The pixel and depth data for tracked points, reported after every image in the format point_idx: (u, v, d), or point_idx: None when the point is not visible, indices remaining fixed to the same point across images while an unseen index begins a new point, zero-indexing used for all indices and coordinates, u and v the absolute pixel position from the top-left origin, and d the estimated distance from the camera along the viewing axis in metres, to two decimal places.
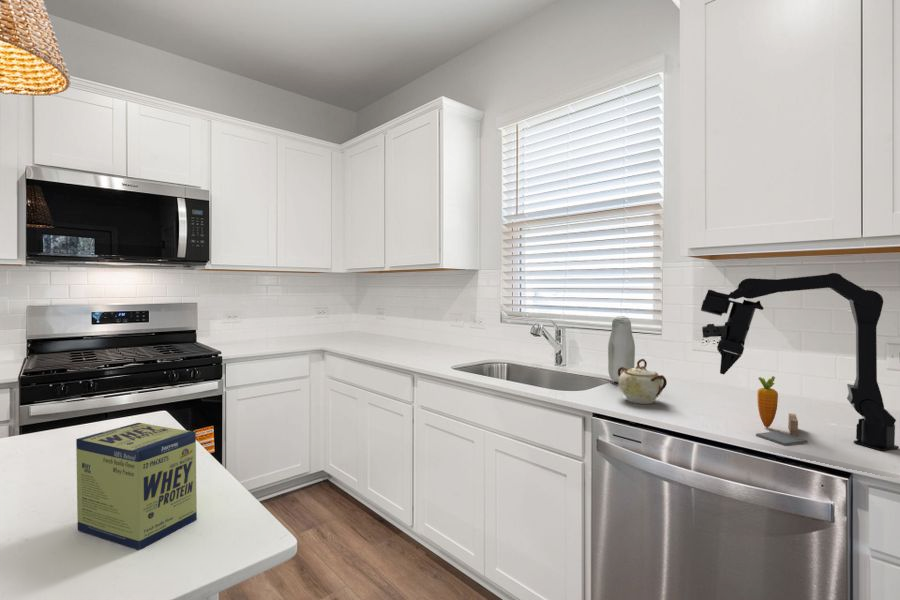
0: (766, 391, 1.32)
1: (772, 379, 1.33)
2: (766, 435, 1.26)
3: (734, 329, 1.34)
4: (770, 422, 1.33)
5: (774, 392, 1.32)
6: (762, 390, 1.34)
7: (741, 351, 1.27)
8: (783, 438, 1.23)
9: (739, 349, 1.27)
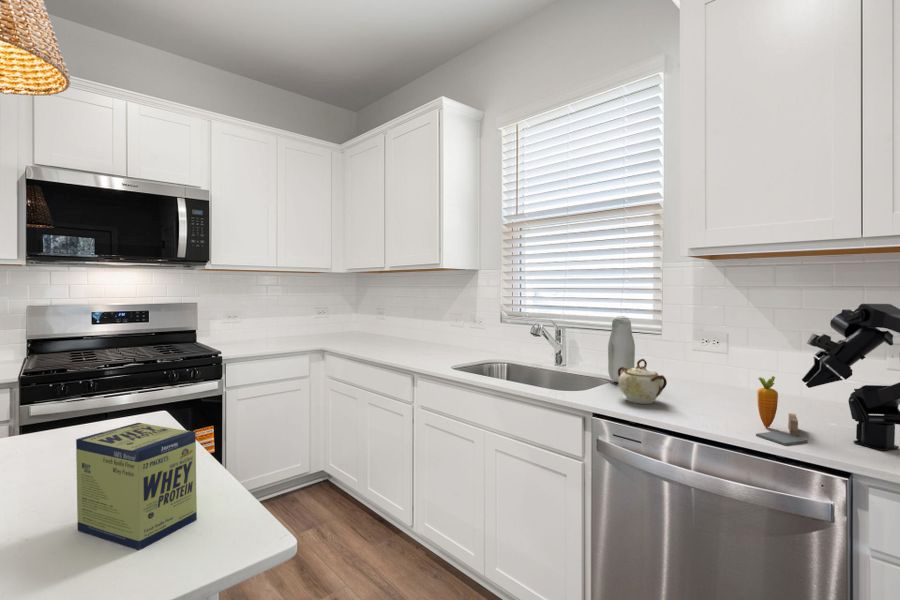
0: (766, 391, 1.33)
1: (772, 379, 1.33)
2: (766, 435, 1.26)
3: (848, 351, 1.22)
4: (770, 422, 1.33)
5: (774, 392, 1.32)
6: (762, 390, 1.34)
7: (847, 376, 1.18)
8: (783, 438, 1.23)
9: (847, 373, 1.17)
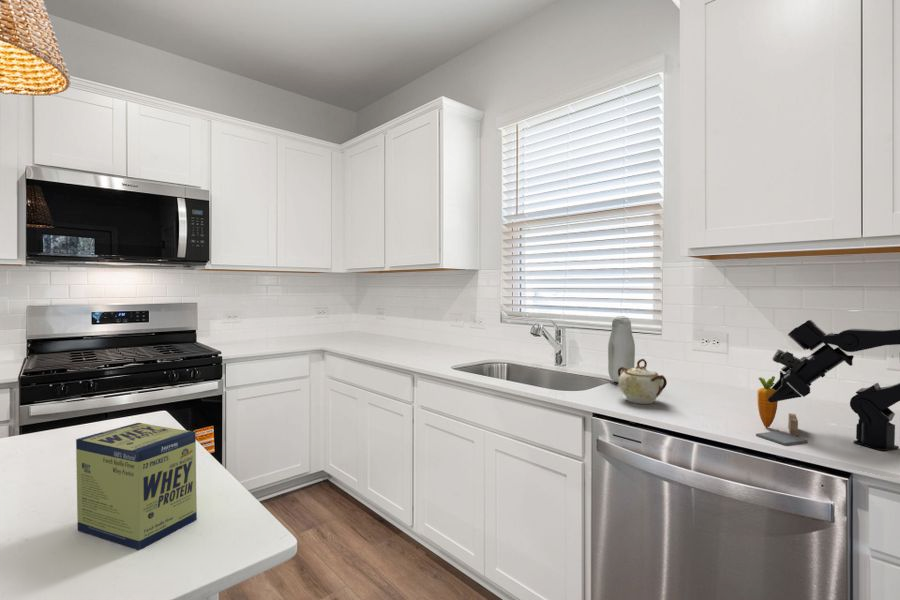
0: (766, 391, 1.33)
1: (772, 379, 1.33)
2: (766, 435, 1.26)
3: (809, 369, 1.27)
4: (770, 422, 1.33)
5: None
6: (762, 390, 1.34)
7: (805, 394, 1.22)
8: (783, 438, 1.23)
9: (805, 391, 1.22)
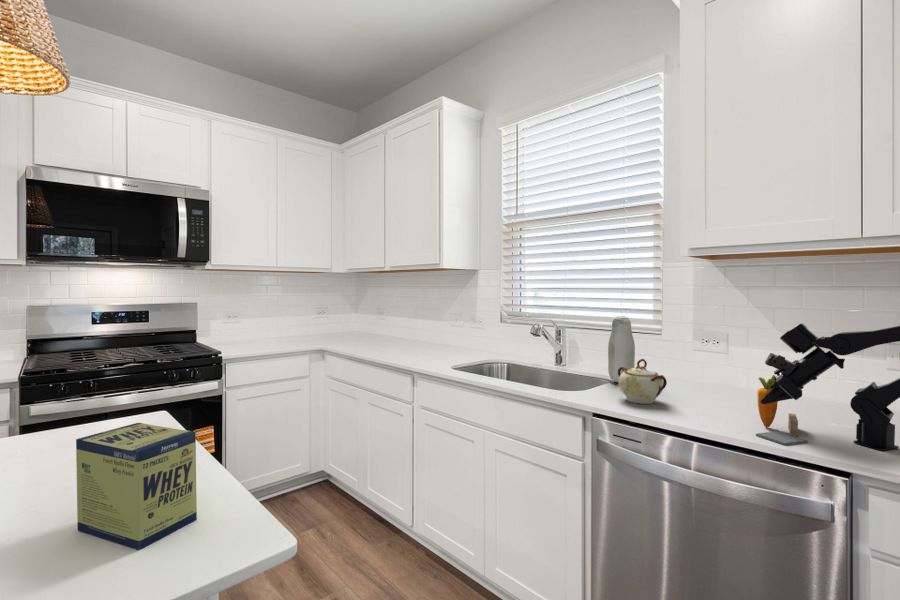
0: (766, 391, 1.32)
1: (772, 379, 1.33)
2: (766, 435, 1.26)
3: (801, 372, 1.28)
4: (770, 422, 1.33)
5: None
6: (762, 390, 1.34)
7: (797, 397, 1.23)
8: (783, 438, 1.23)
9: (797, 394, 1.23)
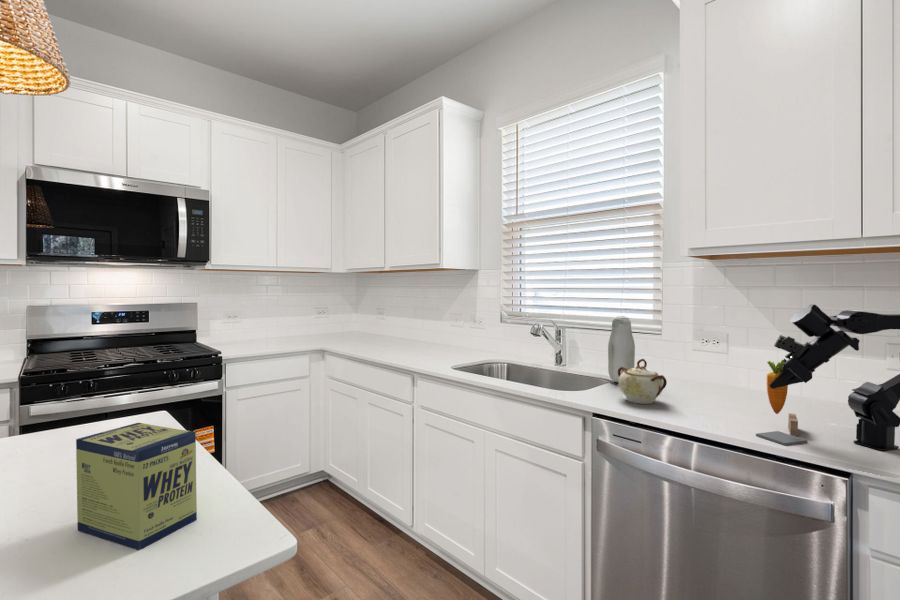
0: (775, 376, 1.27)
1: (782, 363, 1.27)
2: (766, 435, 1.26)
3: (812, 354, 1.21)
4: (780, 408, 1.27)
5: None
6: (771, 374, 1.28)
7: (807, 379, 1.17)
8: (783, 438, 1.23)
9: (807, 377, 1.17)
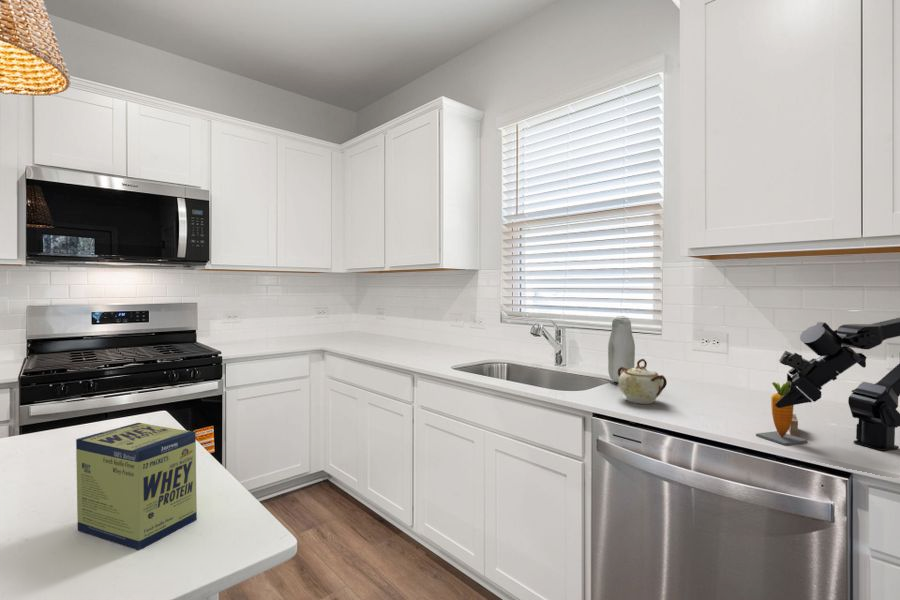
0: None
1: (787, 384, 1.24)
2: (766, 435, 1.26)
3: (820, 371, 1.18)
4: (785, 430, 1.24)
5: None
6: (776, 396, 1.24)
7: (816, 398, 1.13)
8: (783, 438, 1.23)
9: (816, 396, 1.13)
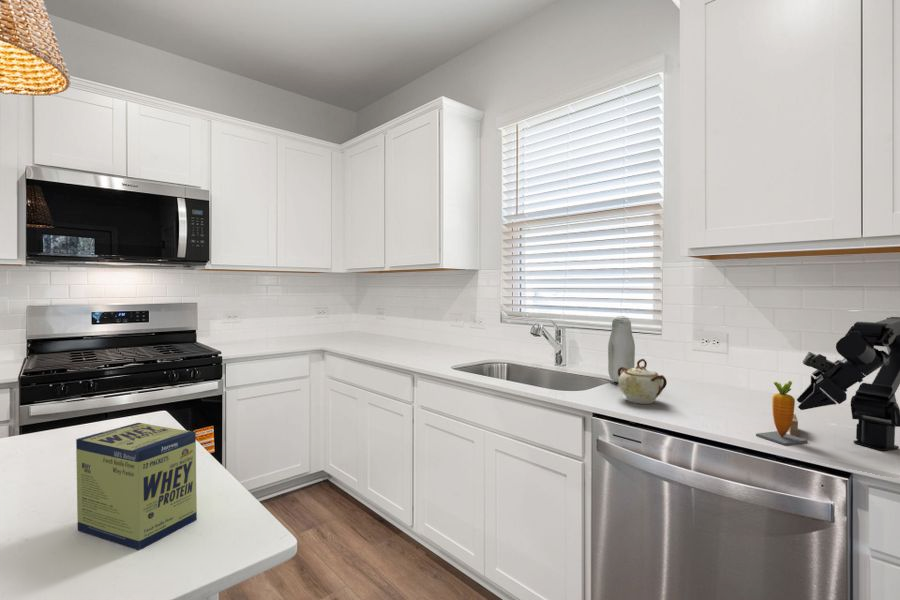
0: (782, 397, 1.23)
1: (789, 384, 1.24)
2: (766, 435, 1.26)
3: (845, 373, 1.15)
4: (785, 430, 1.24)
5: (790, 398, 1.22)
6: (777, 396, 1.24)
7: (841, 401, 1.11)
8: (783, 438, 1.23)
9: (841, 398, 1.11)
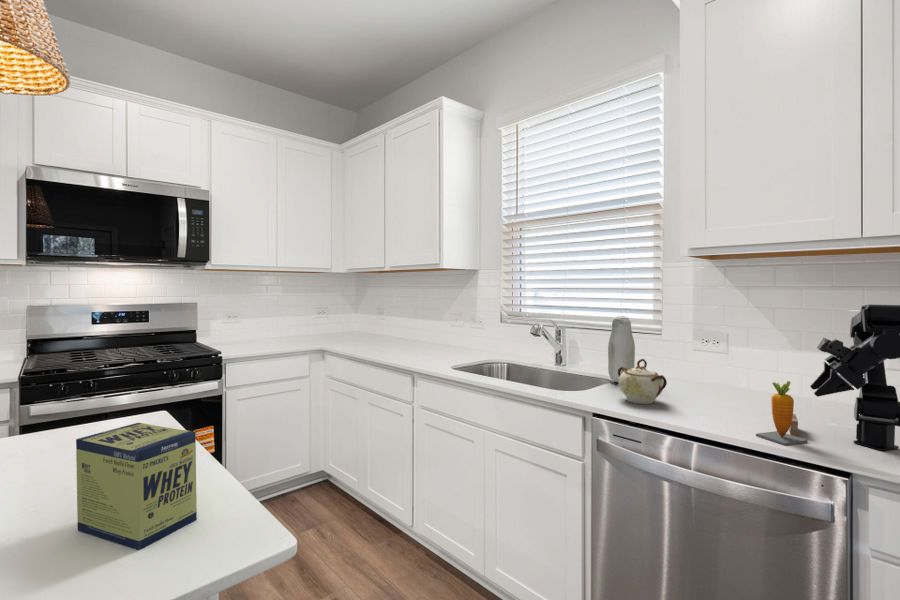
0: (781, 398, 1.23)
1: (787, 384, 1.23)
2: (766, 435, 1.26)
3: (862, 358, 1.13)
4: (785, 431, 1.24)
5: (789, 398, 1.22)
6: (776, 396, 1.24)
7: (860, 386, 1.09)
8: (783, 438, 1.23)
9: (860, 383, 1.09)
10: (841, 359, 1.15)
